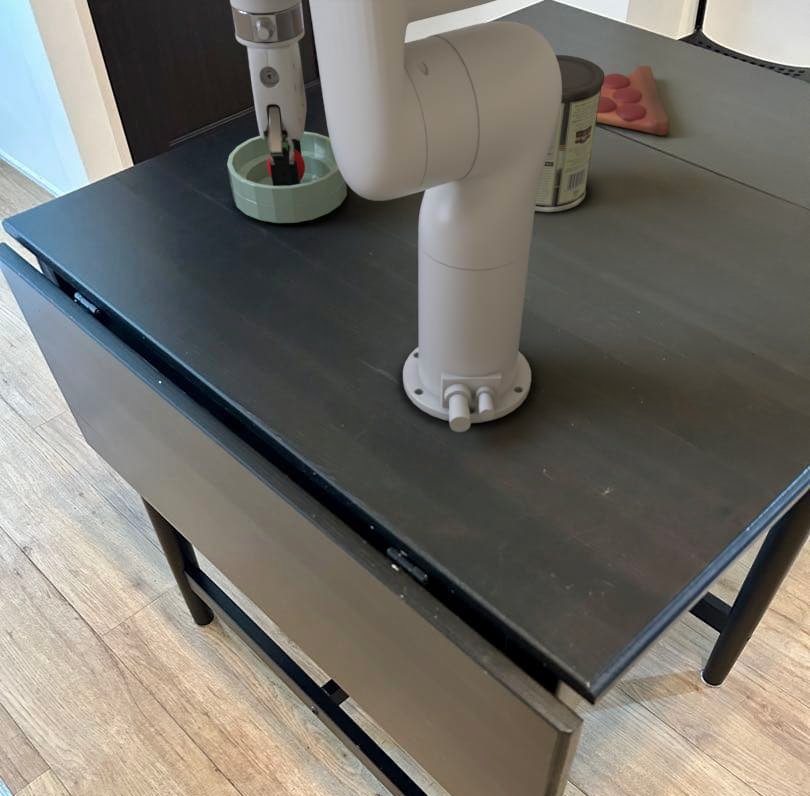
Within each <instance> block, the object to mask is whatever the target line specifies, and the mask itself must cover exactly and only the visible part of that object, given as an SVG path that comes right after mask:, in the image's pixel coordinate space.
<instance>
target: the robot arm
mask: <svg viewBox="0 0 810 796" xmlns="http://www.w3.org/2000/svg"><path fill="white" fill-rule="evenodd" d="M302 1H303V0H229V5H230V10H231V16H232V24H233V29H234V35H235V39H236V41H237V42H238V43H239V44H241V45H243V46H245V47H246V49H247V50H246V51H247V58H248V59H247V60H248V68H249V69H248V70H249V73H250V82H251V89H252V96H253V102H254V103H253V104H254V109H255V117H256V122H257V128H258V133H259V136H261V138H262V139H263V140H265V141H266V140H267V138H268V145H269V154H270V169H271V176H272V183H273V186H291V185H296V184H300V183H299V174H298V166H297V161H294V151H293V144H294V147H295V149H296V150H297V151H298V152H299V153H300V154H301V146H300V139H301V138H302V136H303V133H304V132H305V126H306V119H307V109H308V108H307V107H308V106H307V97H306V96H307V95H306V90H305V89H306V88H305V83H304V82H305V81H304V75H303V67H302V59H301V53H300V52H301V51H300V45H299V41H301V40H302V39H303V38H304V37H305V34H306V33H305V24H304V23H305V22H304V12H303V2H302ZM496 1H497V0H308V2H309V10H310V16H311V23H312V30H313V37H314V45H315V51H316V59H317V65H318V72H319V79H320V87H321V92H322V94H321V95H322V99H323V106H324V113H325V120H326V127H327V133H328V137H329V138H330V142H331V146H332V150H333V153H334V157H335V160H336V163H337V165H338V168H339V170H340V172H341V174H342V176H343V178H344V180H345V181H346V183H347V186H348V187H349V188H350V189H351V190H352V191H353V192H354V193H355V194H356V195H358V196H359V197H361V198H363V199H366V200H369V201H375V202H378V201H379V202H383V201H384V202H385V201H392V200H394V199H395V200H396V199H399V198H403V197H407V196H410V195H414V194H418V193H422V192H424V193H423V197H422V200H421V204H420V208H419V216H418V230H417V231H418V233H417V234H418V238H417V245H418V246H417V261H418V262H417V264H418V265H417V267H418V268H417V269H418V270H417V271H418V272H417V274H418V275H417V276H418V277H417V280H418V281H417V283H418V284H417V285H418V287H417V288H418V289H417V296H418V299H417V301H418V302H417V304H418V305H417V307H418V308H417V309H418V310H417V311H418V312H417V314H418V316H417V317H418V322H417V323H418V325H417V326H418V331H417V332H418V336H417V337H418V346H417V347H416V348H415V349H413V351H412V352H410V354H409V355H408V356H407V359H406V360H405V362H404V365H403V369H402V382H403V388H404V391H405V393H406V395H407V397H408V399H410V401H411V402H412V403H413V404H414V406H416V407H417V408H419V410H421V411H422V412H424V413H426V414H428V415H429V416H432V417H433V418H434V417H435V418H437V419H439V420H443V421H446V422H447V421H448V423H449V428H450V429H451V431H452V432H455V433H464V432H466V431H468V430H469V429H470V427H471V424H476V423H477V424H479V423H485V422H489V421H494V420H497V419H500V418H503V417H504V416H507V415H508V414H511V413H512V412H513V411H515V410H516V409H517V408H519V407H520V406H521V405H522V404H523V403H524V401H525V400H526V399H527V396H528V395H529V392H530V389H531V383H532V370H531V367H530V363H529V362H528V360H527V358H526V357H525V356H524V355H523V353H521V352H520V351H519V348H520V339H521V331H522V323H523V322H522V321H523V314H524V313H523V312H524V304H525V294H526V287H527V277H528V269H529V261H530V252H531V244H532V237H533V227H534V219H535V212H536V211H535V206H536V200H537V194H538V189H539V184H540V180H541V176H542V172H543V168H544V165H545V162H546V158H547V155H548V152H549V149H550V146H551V143H552V140H553V137H554V134H555V130H556V127H557V123H558V118H559V113H560V108H561V99H562V81H561V73H560V68H559V64H558V61H557V58H556V55H557V54H556V53H555V50H554V49H553V48H552V46H551V44H550V43H549V41H548V40H547V39H546V38H545V37H544V36H543V35H542V34H541V33H540V32H539V31H538V30H536V29H534V28H533V27H531V26H529V25H526V24H525V23H520V22H516V21H509V20H506V21H505V20H500V21H499V20H498V21H497V20H496V21H487V22H481V23H476V24H472V25H467V26H464V27H460V28H456V29H452V30H448V31H444V32H439V33H435V34H431V35H429V36H426V37H424V38H419V39H415V40H411V41H407V42H406V34H407V29H408V25H409V24H410V23H414V22H418V21H422V20H427V19H430V18H434V17H438V16H443V15H447V14H452V13H455V12H459V11H464V10H467V9H472V8H475V7H479V6H482V5H486V4H489V3H492V2H496ZM283 142H287V146H288V150H287V148H286V147H283ZM301 156H302V155H301Z"/></svg>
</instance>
